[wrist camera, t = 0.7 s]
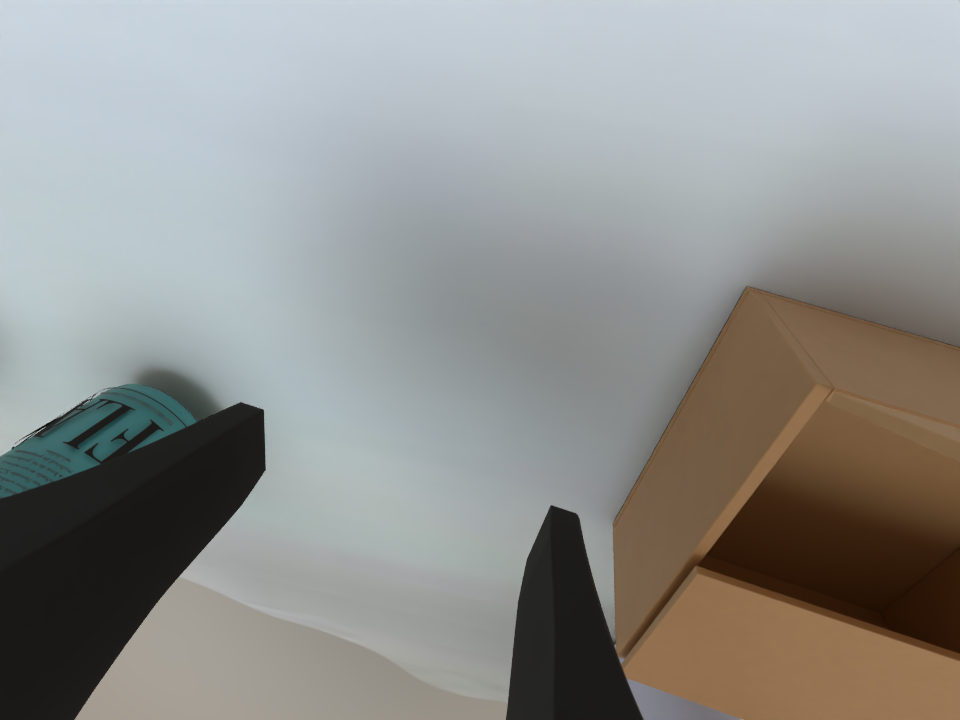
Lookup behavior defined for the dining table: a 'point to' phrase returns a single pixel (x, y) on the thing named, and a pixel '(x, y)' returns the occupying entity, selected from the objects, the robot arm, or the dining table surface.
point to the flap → (904, 425)
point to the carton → (798, 528)
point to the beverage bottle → (91, 436)
